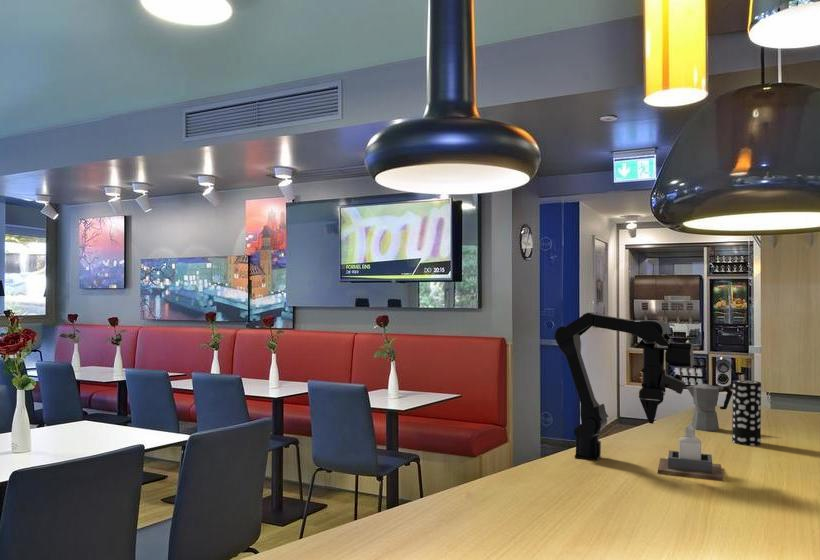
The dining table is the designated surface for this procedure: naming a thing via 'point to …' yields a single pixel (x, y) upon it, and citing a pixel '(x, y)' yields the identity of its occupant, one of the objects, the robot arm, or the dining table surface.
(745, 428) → the white-spotted black cylinder
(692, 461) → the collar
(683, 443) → the eye dropper bottle
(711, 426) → the coffeepot
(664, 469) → the socket board
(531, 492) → the dining table surface
